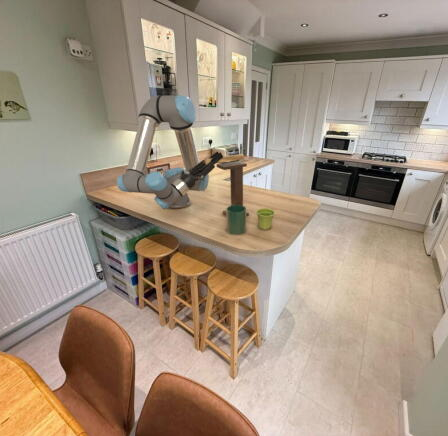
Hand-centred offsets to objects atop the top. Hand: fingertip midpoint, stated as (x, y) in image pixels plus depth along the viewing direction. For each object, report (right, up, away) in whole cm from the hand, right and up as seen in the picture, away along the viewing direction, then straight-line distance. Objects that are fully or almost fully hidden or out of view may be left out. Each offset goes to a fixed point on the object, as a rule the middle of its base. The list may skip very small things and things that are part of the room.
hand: (220, 154), depth 117 cm
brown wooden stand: (+6, -30, +19) cm, 36 cm away
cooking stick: (+2, -3, +3) cm, 5 cm away
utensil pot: (+8, -38, +3) cm, 39 cm away
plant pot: (+23, -37, +6) cm, 44 cm away
